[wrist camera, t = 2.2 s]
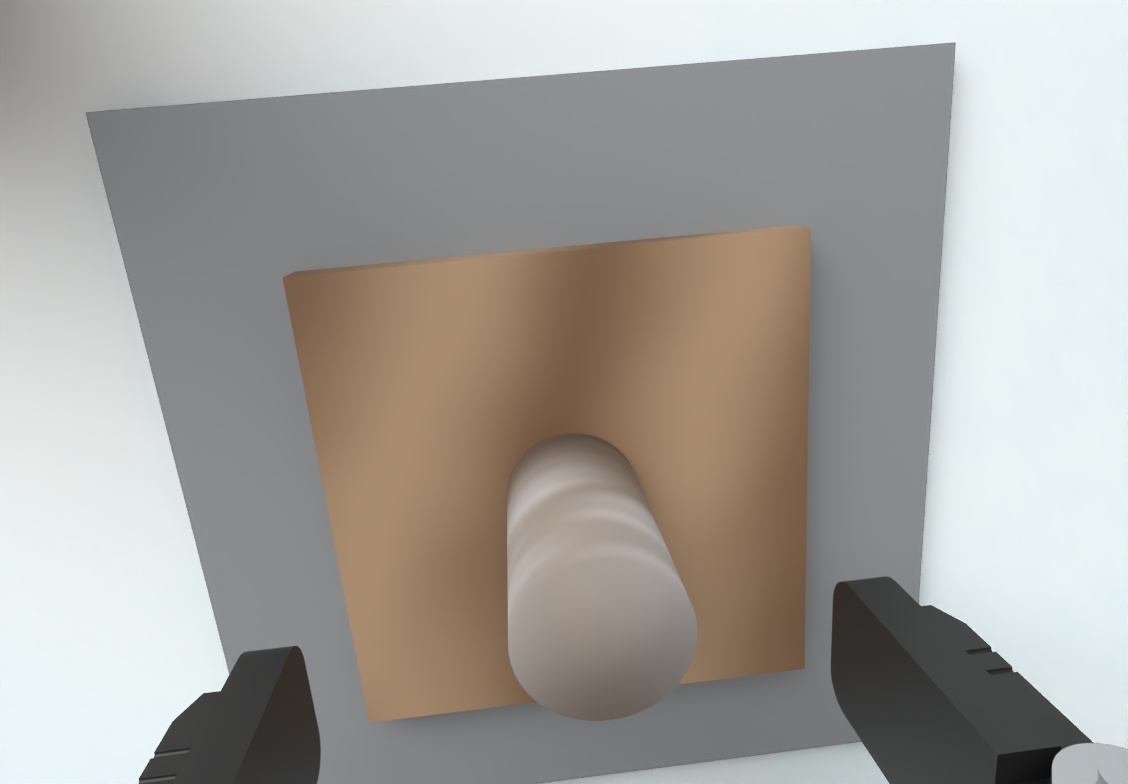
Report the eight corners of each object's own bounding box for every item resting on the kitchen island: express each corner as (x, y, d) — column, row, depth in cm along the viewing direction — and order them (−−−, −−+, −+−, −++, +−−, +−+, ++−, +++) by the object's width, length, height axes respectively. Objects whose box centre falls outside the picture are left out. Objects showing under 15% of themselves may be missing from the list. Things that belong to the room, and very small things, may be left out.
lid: (793, 225, 16) (969, 256, 10) (789, 644, 20) (922, 863, 13) (295, 271, 16) (161, 334, 10) (375, 695, 19) (313, 947, 13)
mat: (942, 46, 16) (955, 42, 16) (900, 722, 21) (909, 735, 21) (98, 114, 15) (85, 112, 15) (272, 803, 20) (266, 818, 20)
